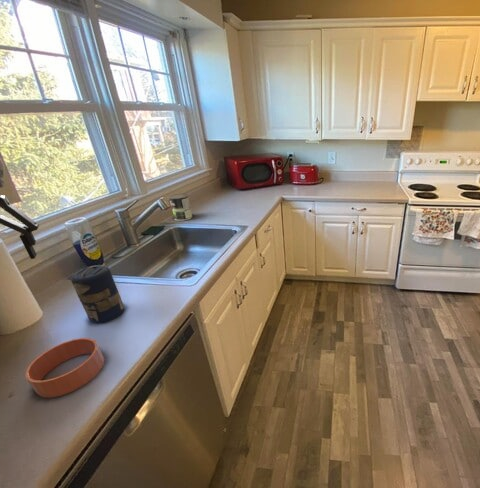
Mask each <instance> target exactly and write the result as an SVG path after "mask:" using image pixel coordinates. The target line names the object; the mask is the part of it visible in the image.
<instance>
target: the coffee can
mask: <svg viewBox="0 0 480 488" xmlns="http://www.w3.org/2000/svg"><path fill="white" fill-rule="evenodd" d="M168 200H169V203H170V206H171V210H172V214H173V218H174V221H177V222H185V221H188V220H190V219H192V218H193V214H192V209H191V205H190V200H189V194H187V193H176V194H171V195H170V196H168Z"/></svg>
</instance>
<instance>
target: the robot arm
mask: <svg viewBox="0 0 480 488" xmlns="http://www.w3.org/2000/svg"><path fill="white" fill-rule="evenodd" d="M0 207H1V209H2V210H4V212H6V213H8V214H9V215H11V216H12V217H13V218H15V219H16V220H17V221H16V220H14V219H12V218H9V217H7V216H6V215H3V214H1V213H0V225H2V226H4V227H6V228H9V229H11V230H13V231H15V232H17V233H20V234H19V239H20V241H21V243H22V244H23V246H24V248H25V250H26V252H27V255H28V256H29V258H30V260H33V259H36V257H37V252H36V249H35V248H34V246H35V245H36V243H37V241H36V238H35V236H34V234H33V232H34V231H38V229H39V227H40V224H38V223H37V222H36V221H35V220H34V219H32V218H31V217H29V216H28V215H27V214H26V213H24V212H23V211H22V210H20V209H19V208H18V207H16V206H15V205H14V204H12V203H11V202H10V201H9V199H8V197H7V196H6V195H4V194H0Z"/></svg>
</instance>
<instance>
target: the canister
mask: <svg viewBox="0 0 480 488" xmlns="http://www.w3.org/2000/svg"><path fill="white" fill-rule="evenodd" d="M70 282H71V284H72V286H73V289H74V290H75V293H76V295H77V297H78V299H79V302H80V303H81V305H82V308H83V310H84V311H85V313H86V315H87V319H88V320H89V321H90V322H92V323H93V324H103V323H106V322H110V321H112V320H114V319H117V318H118V317H119V316H121V315H122V314H123V312H124V310H125V305H124V302H123V300H122V297H121V295H120V291H119V289H118V287H117V285H116V283H115V279H114V278H113V275H112V272H111V269H110V268H109V267H108V266H107V265H102V264H97V265H95V264H94V265H91V266H87V267H84V268H81V269H79V270H77V271H75V272H74V273H73V274H72V275H71V277H70Z"/></svg>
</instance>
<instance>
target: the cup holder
mask: <svg viewBox="0 0 480 488" xmlns="http://www.w3.org/2000/svg"><path fill="white" fill-rule="evenodd" d="M87 354H91V355H90V356H89V357H88V358H87V359H86V360H85V361H84V362H83V363H81V364H80V365H79V366H77V367H76V368H74V369H72V370H70V371H68V372H66V373H64V374H61V375H59V376H56V377H53V378H49V379H45V380H43V379H44V378H45V377H46V375H47V374H48V373H50V371H52V370H53V369H55V367H57V366H59V365H61V364H62V363H64V362H65V361H68V360H70V359H72V358H75V357H78V356H82V355H87ZM104 365H105V357H104V354H103V353H102V350H101V348H100V347H99V345H98V343H97V341H96V340H95V339H93V338H90V337H80V338H75V339H70V340H67V341H64V342H62V343H59V344H57V345H55V346H53V347H51V348H49V349H47V350H46V351H44V352H42V353H41V354H40V355H38V357H36V358H34V359H33V361H32V362H31V363H30V364H29V365H28V367H27V368H26V371H25V379H26V380H27V382H28V383H29V385H30V386H31V387H32V389H33V390H34V392H35V393H36V394H37V395H38V396H40V397H41V398H55V397H61V396H64V395H67V394H69V393H72V392H74V391H76V390H78V389H79V388H81V387H83V386H85V385H86V384H87V383H89V382H90V381H92V380H93V379H94V378H95V377H96V376H97V375H98V374H99V373H100V371H101V370H102V368H103V367H104Z"/></svg>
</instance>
